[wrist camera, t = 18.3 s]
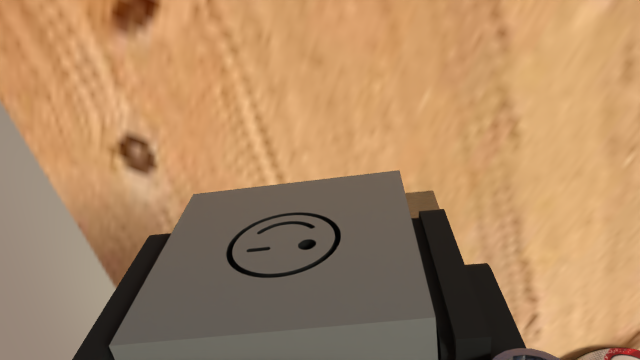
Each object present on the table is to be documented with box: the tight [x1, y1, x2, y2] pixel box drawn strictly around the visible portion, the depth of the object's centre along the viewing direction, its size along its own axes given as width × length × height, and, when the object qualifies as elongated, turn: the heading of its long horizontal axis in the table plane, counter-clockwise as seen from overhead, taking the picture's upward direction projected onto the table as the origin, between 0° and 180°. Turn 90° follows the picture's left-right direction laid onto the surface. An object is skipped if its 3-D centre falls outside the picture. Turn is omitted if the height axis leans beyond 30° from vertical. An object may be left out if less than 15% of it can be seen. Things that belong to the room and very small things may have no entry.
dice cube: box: [109, 171, 438, 360], centre depth 11 cm, size 5×5×5 cm
